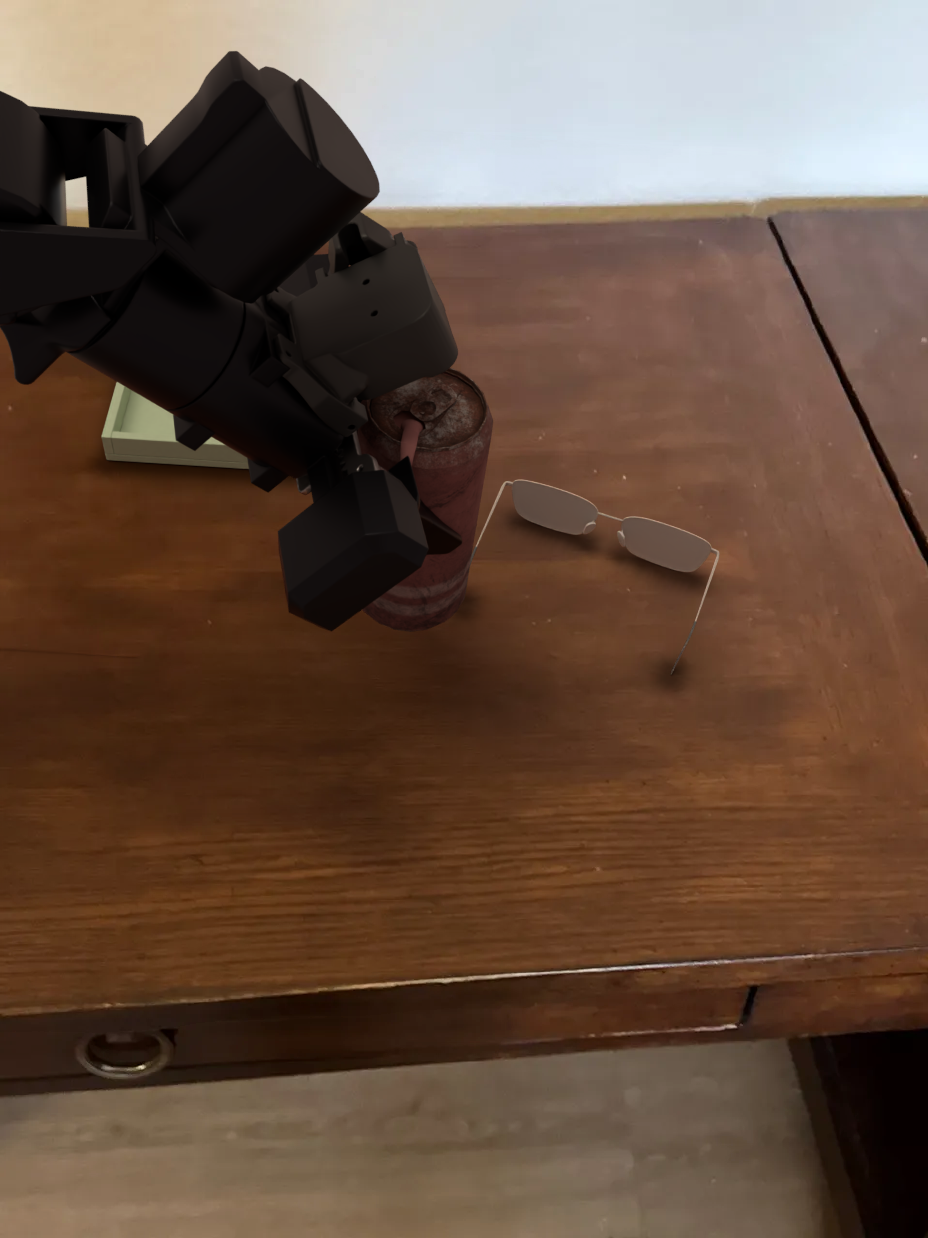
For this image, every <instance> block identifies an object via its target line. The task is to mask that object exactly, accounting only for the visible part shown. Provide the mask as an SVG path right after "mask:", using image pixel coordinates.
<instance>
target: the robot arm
mask: <svg viewBox="0 0 928 1238" xmlns="http://www.w3.org/2000/svg"><path fill="white" fill-rule="evenodd" d="M145 139H146V138H145V129H144V123H143V121H142V119H141V118H140V117H138V116H136V115H129V114H119V113H109V112H99V111H90V110H89V111H86V110H78V109H77V110H75V109H65V108H55V107H45V106H35V105H34V106H33V105H28V104H27V103H26V102H25V101H23V100H21V99H19V98H17V97H15V96H13V95H10V94H8V93H6V92H4V91H2V90H0V330H1V332H2V333H3V335H4V338H5V339H6V341H7V344H8V347H9V350H10V356H11V359H12V366H13V375H14V379H15V380H16V382H17V383H18V384H21V385H22V386H23V385H25V386H29V385H32V384H33V383H35V381H37V380H38V379H39V378H40V377H41V376H42V375H43V374H44V373H45V372H46V371H47V370H48V369H49V368H50V367H51V366H52V365H53V364H54V363H55V362H56V361H57V360H58V359H59V358H60V357H62V355H64V354H65V353H66V354H68V355H70V356H71V357H74V358H75V359H76V360H79V361H81V362H82V363H84V364H86V365H87V366H89V367H91V368H92V369H94V370H96V371H98V372H99V373H101V374H102V375H104V376H106V377H108V378H110V379H112V380H113V381H115V383H117V382H118V383H120V384H122V385H123V386H125V387H127V388H128V389H130V390H132V391H134V392H135V393H137V394H139V395H140V396H142V397H144V398H146V399H147V400H149V401H151V402H152V403H154V404H156V405H158V406H159V407H161V408H163V409H164V410H166V411H168V412H170V413H171V414H173V420H174V429H175V439H176V441H178V442H179V443H181V444H183V445H185V446H186V447H188V448H190V449H192V450H194V451H196V450H197V449H198V448H199V447H200V446H202V445H203V444H204V443H205V442H206V441H207V440H208V439H210V438H211V437H212V438H214V439H216V440H218V441H219V442H221V443H223V444H224V445H226V446H228V447H230V448H231V449H233V450H235V451H236V452H238V453H240V454H242V455H243V456H245V457H247V460H248V466H249V469H248V472H249V478H250V484H251V485H254V486H255V487H257V488H259V489H260V490H262V491H263V492H266V493H270V492H271V491H273V490H274V489H275V488H277V486H279V485H280V484H281V483H282V482H284V481H285V480H286V479H287V478H288V477H291V478H293V479H295V481H296V487H297V491H298V493H300V494H302V495H304V496H308V495H309V494H311V498H312V503H311V504H310V505H309V506H308V507H306V508H305V509H304V510H302V512H300V513H299V514H297V515H296V516H295V517H294V518H292V519H291V520H290V521H289V522H287V523H286V524H285V525H283V526H282V527H281V528H279V530H277V544H278V555H279V562H280V568H281V573H282V579H283V587H284V591H285V598H286V605H287V609H288V614H291V615H293V616H294V617H297V618H299V619H301V620H303V621H305V622H308V623H310V624H312V625H314V626H316V627H318V628H320V629H323V630H326V631H329V632H333V631H334V630H336V629H337V628H339V627H340V626H341V625H344V623H346V622H347V621H348V620H350V619H352V618H353V617H355V616H356V615H357V614H358V613H360V612H361V611H363V610H362V609H364V608H365V607H366V606H368V605H369V604H371V603H372V602H373V601H375V600H376V599H378V598H379V597H380V596H382V595H383V594H385V593H386V592H387V591H389V590H390V589H392V588H393V587H394V586H396V585H397V584H398V583H400V582H401V581H403V580H404V579H405V578H407V577H408V576H410V575H411V574H412V573H414V572H415V571H417V570H418V569H419V568H421V566H422V564H423V562H424V559H425V557H426V555H436V554H448V553H450V552H452V551H453V550H455V549H456V548H457V547H459V546H460V545H461V544H462V543H463V541H462V537H461V535H460V534H459V533H457V532H456V531H454V530H453V529H452V528H450V527H449V526H448V525H446V524H445V523H444V522H442V521H441V520H440V519H439V518H438V517H437V516H436V515H435V514H434V513H433V512H432V511H431V510H430V509H429V508H428V507H427V506H426V505H425V504H424V503H423V502H422V501H421V499H420V496H419V492H418V488H417V484H416V480H415V477H414V473H413V469H412V465H411V461H410V458H409V456H406V457H405V458H403V459H402V460H401V461H400V462H398V463H397V464H396V465H394V466H393V467H392V468H391V469H389V470H388V471H387V470H386V469H384V468H383V467H381V466H380V465H378V462H377V460H376V459H375V458H374V457H372V456H371V455H369V454H362V453H361V449H360V444H359V440H358V436H357V433H358V429H359V428H360V427H361V426H362V425H364V424H365V423H366V422H367V421H368V417H367V413H366V409H365V406H364V405H363V404H361V402H362V400H370V399H373V398H376V397H379V396H381V395H383V394H386V393H388V392H390V391H393V390H395V389H397V388H400V387H402V386H404V385H407V384H409V383H411V382H414V381H416V380H418V379H421V378H423V377H435V376H437V375H439V374H441V373H443V372H445V371H446V370H448V369H449V368H452V366H453V365H454V364H455V363H456V362H457V359H458V356H459V348H458V345H457V341H456V340H455V336H454V334H453V330H452V328H451V325H450V321H449V318H448V315H447V312H446V307H445V304H444V302H443V300H442V298H441V295H440V294H439V292H438V290H437V288H436V286H435V284H434V282H433V279H432V278H431V275H430V273H429V272H428V269H427V268H426V264H425V263H424V261H423V259H422V257H421V254H420V251H419V249H418V246H417V244H416V243H415V242H414V241H412V240H407V239H406V237H405V236H404V234H403V233H404V232H402V231H400V232H398V233H395V234H393V235H392V232H391V231H390V230H389V229H388V228H386V227H385V226H383V225H382V224H380V223H379V222H377V221H375V220H374V219H372V218H371V217H369V216H368V215H366V214H365V213H363V212H362V211H363V210H364V209H365V208H367V207H368V206H369V205H370V204H371V203H372V202H373V201H374V200H375V199H376V198H377V197H378V196H379V193H380V192H381V189H380V187H381V186H380V181H379V177H378V175H377V172H376V170H375V168H374V165H373V163H372V161H371V160H370V158H369V156H368V155H367V153H366V151H365V148H363V146H362V144H361V143H360V142H359V140H358V139H357V137H356V136H355V134H354V133H353V131H352V130H351V129H350V127H349V126H348V125H347V124H346V122H345V121H344V120H343V119H342V117H341V116H340V115H339V114H338V113H337V111H336V110H335V109H334V108H333V107H332V106H331V105H330V103H328V102H327V101H326V100H325V98H323V97H322V95H321V94H320V93H318V92H317V91H316V89H314V88H313V87H312V86H311V85H310V84H309V83H308V82H306V81H305V80H304V79H302V78H301V77H300V78H298V80H297V81H296V79H294V78H293V77H291V76H290V75H288V74H287V73H285V72H283V71H281V70H279V69H277V68H275V67H271V66H267V65H265V66H263V67H260V68H259V69H258V68H257V66H255V65H254V64H253V63H252V62H251V61H249V59H247V58H246V56H244V55H243V54H241V53H240V52H239V51H238V50H229V51H227V52H226V54H225V55H224V56H223V57H222V58H221V59H220V60H219V61H218V62H217V63H216V64H215V65H214V66H213V67H212V68H211V69H210V70H209V72H208V73H207V75H206V76H205V77H204V79H203V81H202V83H201V85H200V86H199V88H198V90H197V92H196V93H195V95H194V96H192V98H191V99H190V100H189V101H188V103H186V105H184V107H183V108H182V109H180V111H179V112H178V113H177V114H176V115H175V116H174V117H172V119H171V120H170V121H169V122H168V123H167V124H166V126H164V128H162V130H160V132H159V133H158V134H157V135H156V136H155V137H154V138H153V139H152V140H151V141H150V142H149V143H148V144H146V140H145ZM82 178H85V183H86V186H85V187H86V201H87V204H86V205H87V219H88V226H76V225H68V213H67V210H68V209H67V188H66V186H67V185H66V182H69V181H73V180H78V179H82ZM327 243H328V248H327V253H319V254H316V253H317V252H318V251H319V250H320V249H322V247H324V246H325V245H326V244H327Z"/></svg>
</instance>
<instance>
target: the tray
mask: <svg viewBox="0 0 928 1238" xmlns="http://www.w3.org/2000/svg"><path fill="white" fill-rule="evenodd" d="M100 437H101V441H102V446H103V450H104V455H105V459H106V461H115V462H116V461H117V462H132V463H147V464H163V465H178V466H179V465H180V466H197V467H207V468H208V467H211V468H225V469H226V468H227V469H241V470H242V469H243V470H249V466H248V460H247V457H245V456H243V455H242V454H240V453H238V452H236V451H235V450H233V449H231V448H230V447H228V446H226V445H224V444H223V443H221V442H219V441H218V440H216V439H214V438H212V437H211V438H210V439H208V440H207V441H206V442H205V443H204V444H203V445H202V446H200V447H199V448H198V449H197V450H196V451H194V450H192V449H190V448H188V447H186V446H185V445H183V444H181V443H179V442H178V441H176V439H175V429H174V420H173V414H171V413H170V412H168V411H166V410H164V409H163V408H161V407H159V406H158V405H156V404H154V403H152V402H151V401H149V400H147V399H146V398H144V397H142V396H140V395H139V394H137V393H135V392H134V391H132V390H130V389H128V388H127V387H125V386H123V385H122V384H120V383H118V382H115V386H114V389H113V394H112V398H111V401H110V403H109V408H108V412H107V415H106V418H105V422H104V425H103V429H102V432H101V436H100Z"/></svg>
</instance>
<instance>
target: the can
mask: <svg viewBox="0 0 928 1238" xmlns="http://www.w3.org/2000/svg"><path fill="white" fill-rule="evenodd" d="M361 404H363V405H364V406H365V409H366V413H367V417H368V421H367V422H366V423H365V424H364V425H362V426H361V427H360V428H359V429H358V433H357V436H358V440H359V444H360V449H361V453H362V454H369V455H371V456H372V457H374V458H375V459H376V460H377V462H378V465H380V466H381V467H383V468H384V469H386V470H387V471H388V470H389V469H391V468H392V467H393V466H394V465H396V464H397V463H398V462H400V461H401V460H402V459H403V458H405V457H406V456H409V458H410V461H411V465H412V469H413V473H414V477H415V480H416V484H417V488H418V492H419V496H420V499H421V501H422V502H423V503H424V504H425V505H426V506H427V507H428V508H429V509H430V510H431V511H432V512H433V513H434V514H435V515H436V516H437V517H438V518H439V519H440V520H441V521H442V522H444V523H445V524H446V525H448V526H449V527H450V528H452V529H453V530H454V531H456V532H457V533H459V534H460V535H461V537H462V541H463V543H462V544H461V545H460V546H459V547H457V548H456V549H455V550H453V551H452V552H450V553H448V554H436V555H426V557H425V559H424V562H423V564H422V566H421V568H419V569H418V570H417V571H415V572H414V573H412V574H411V575H410V576H408V577H407V578H405V579H404V580H403V581H401V582H400V583H398V584H397V585H396V586H394V587H393V588H392V589H390V590H389V591H387V592H386V593H385V594H383V595H382V596H380V597H379V598H378V599H376V600H375V601H373V602H372V603H371V604H369V605H368V606H366V607H365V608H364V609H362V610H361V611H363V613H365V614H366V615H367V616H369V617H370V618H371V619H373V620H374V621H375V622H376V623H378V624H380V625H382V626H384V627H386V628H389V629H391V630H394V631H401V632H409V633H411V632H420V631H427V630H429V629H431V628H434V627H436V626H439V625H442V624H443V623H445V622H447V621H448V620H449V619H450V618H451V617H452V616H454V615H455V614H456V613H458V611H459V609H460V608H461V606H462V604H463V602H464V601H465V598H466V594H465V591H466V592H467V588H466V585H467V586H468V581H467V579H469V575H468V573H470V569H469V567H470V568H471V565H470V561H471V556H472V553H473V550H474V543H475V538H476V537H475V536H476V531H477V525H478V518H479V514H480V507H481V501H482V495H483V489H484V484H485V477H486V471H487V465H488V460H489V455H490V453H489V452H490V448H491V442H492V435H493V425H494V418H493V415H492V412H491V409H490V406H489V404H488V402H487V399H486V396H485V392H484V391H483V390H482V389H481V388H480V387H479V385H478V384H477V383H476V381H475V380H473V379H472V378H471V377H469V376H468V375H466V374H465V373H463V372H462V371H460V370H458V369H455V368H452V367H450V368H449V369H448V370H446V371H445V372H443V373H441V374H439V375H437V376H435V377H423V378H421V379H418V380H416V381H414V382H411V383H409V384H407V385H404V386H402V387H400V388H397V389H395V390H393V391H390V392H388V393H386V394H383V395H381V396H379V397H376V398H373V399H370V400H362V402H361ZM464 597H465V598H464ZM463 600H464V601H463Z"/></svg>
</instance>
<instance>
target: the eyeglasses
mask: <svg viewBox="0 0 928 1238" xmlns="http://www.w3.org/2000/svg"><path fill="white" fill-rule="evenodd" d="M506 486H508V487H511V497H512V502H513V506H514V508H515V511H516V513H517V514H518V515H519V516H520V517H521V518H523V519H524V520H527V521H529V522H531V523H534V524H536V525H538V526H541V527H543V528H547V529H550V530H553V531H556V532H561V533H565V534H569V535H574V536H575V535H576V536H577V535H578V536H579V535H582V534H583V535H587V534H590V533H592V532H594V530H595V528H596V527H597V524H596V521H597V520H598V517H599V516H602V517H605V518H609V519H611V520H615V521H618V522H620V530H618V531H616V536H617V537H616V538H617V541H618V543H619V544H620V546H621V547H622V548H626V550H627V551H628V552H629V553H631V554H632V555H634V556H636V557H638V558H640V559H643V560H645V561H647V562H650V563H652V564H655V565H658V566H661V567H663V568H667V569H669V570H670V569H671V570H672V571H673V570H674V571H677V572H682V573H693V572H695V571H697V570H698V569H700V568H701V567H702V565H703V564H704V563H705V562H706V561H707V560H708V558H709V556H710V554H711V553H712V554H714V555H715V559H714V563H713V565H712V569H711V570H710V574H709V577H708V580H707V583H706V587H705V589H704V592H703V596H702V598H701V601H700V605H699V608H698V611H697V614H696V617H695V620H694V621H693V624H692V626H691V629H690V631H689V633H688V636H687V638H686V640H685V643H684V644H683V647H682V648H681V651H680V652H679V654H678V656H677V658H676V660H675V662H674V665H673V666H672V669H671V671H670V675H672V674H673V673H674V671H675V668H676V666H677V664H678V662H679V660H680V658H681V657H682V655H683V653H684V651H685V649H686V646H688V643H689V642H690V639H691V637H692V635H693V633H694V630H695V627H696V625H697V620H698V617H699V615H700V612H701V609H702V607H703V604H704V601H705V599H706V595H707V593H708V590H709V587H710V584H711V581H712V579H713V576H714V573H715V570H716V568H717V564H718V562H719V559H720V551H719V550H718V549H715V548H713V547H712V545H711V543H710V542H709V541H708V540H706V539H704V538H702V537H701V536H698V535H696V534H694V533H692V532H690V531H688V530H684V529H683V528H679V527H677V526H674V525H671V524H668V523H665V522H662V521H658V520H655V519H652V518H647V517H642V516H637V515H636V516H635V515H632V516H626V517H624V518H623V519H622V518H619V517H616V516H612V515H610V514H607V513H603V512H599V508H598V507H597V506H596V505H595V504H594V503H593V502H591V501H590V500H588V499H586V498H584V497H582V496H580V495H578V494H575V493H573V492H571V491H567V490H565V489H561V488H558V487H555V486H552V485H548V484H545V483H541V482H537V481H533V480H527V479H515V480H513V481H510V480H506V481H504V482H503V484H502V485H501V487H500V488H499V491H498V493H497V496H496V498H495V501H494V503H493V505H492V507H491V510H490V512H489V515H488V517H487V519H486V521H485V524H484V526H483V528H482V530H481V533H480V536H479V538H478V540H477V543H476V545H475V546H474V547H473V549H472V555H471V561H470V567H469V570H470V569H471V565H472V562H473V560H474V557H475V554H476V552H477V550H478V546H479V544H480V542H481V539H482V538H483V535H484V533H485V530H486V528H487V526H488V524H489V522H490V520H491V518H492V515H493V514H494V512H495V509H496V507H497V505H498V502H499V500H500V499H501V496H502V494H503V491H504V489H505V487H506ZM469 573H470V572H469ZM469 573H468V576H469ZM468 579H469V578H468ZM468 579H467V582H468V581H469V580H468ZM467 587H468V584H467V585H466V589H467ZM466 593H467V590H466V591H465V595H467V594H466ZM465 598H466V596H465V597H464V600H463V602H464V601H465Z"/></svg>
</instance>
